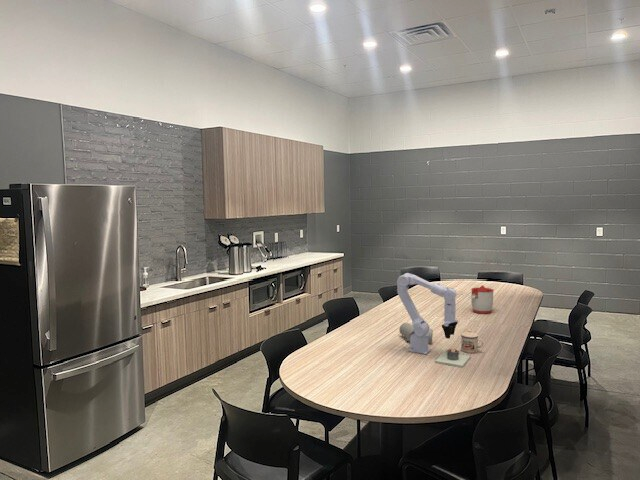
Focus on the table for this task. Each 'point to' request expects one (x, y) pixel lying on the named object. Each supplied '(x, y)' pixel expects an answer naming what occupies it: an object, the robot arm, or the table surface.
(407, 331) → the bent grey cylinder
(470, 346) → the teacup with lid
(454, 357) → the collar
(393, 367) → the table surface
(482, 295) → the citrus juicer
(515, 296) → the table surface
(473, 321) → the table surface
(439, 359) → the pegged green plate
